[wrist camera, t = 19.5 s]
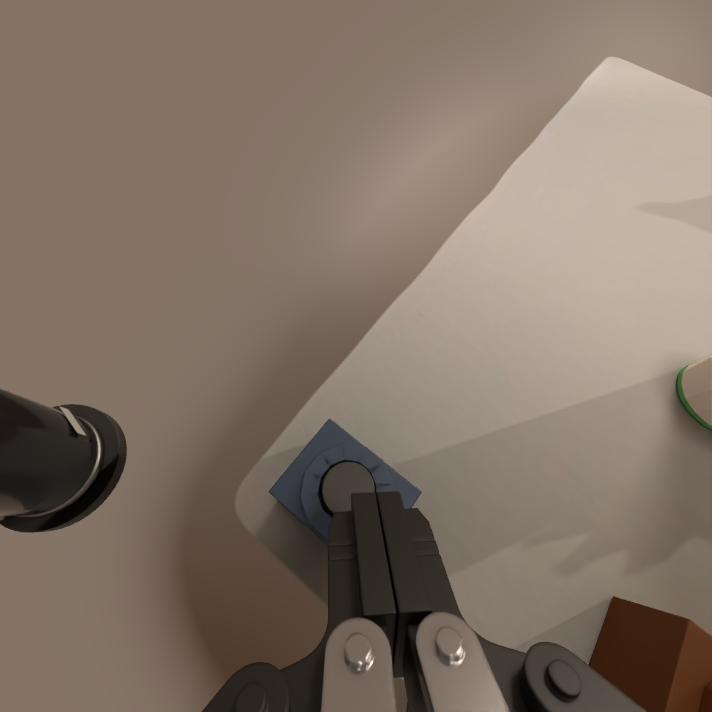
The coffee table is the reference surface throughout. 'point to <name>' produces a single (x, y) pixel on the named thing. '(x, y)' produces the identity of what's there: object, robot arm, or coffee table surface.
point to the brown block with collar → (655, 658)
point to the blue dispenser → (312, 465)
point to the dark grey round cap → (345, 485)
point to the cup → (697, 390)
